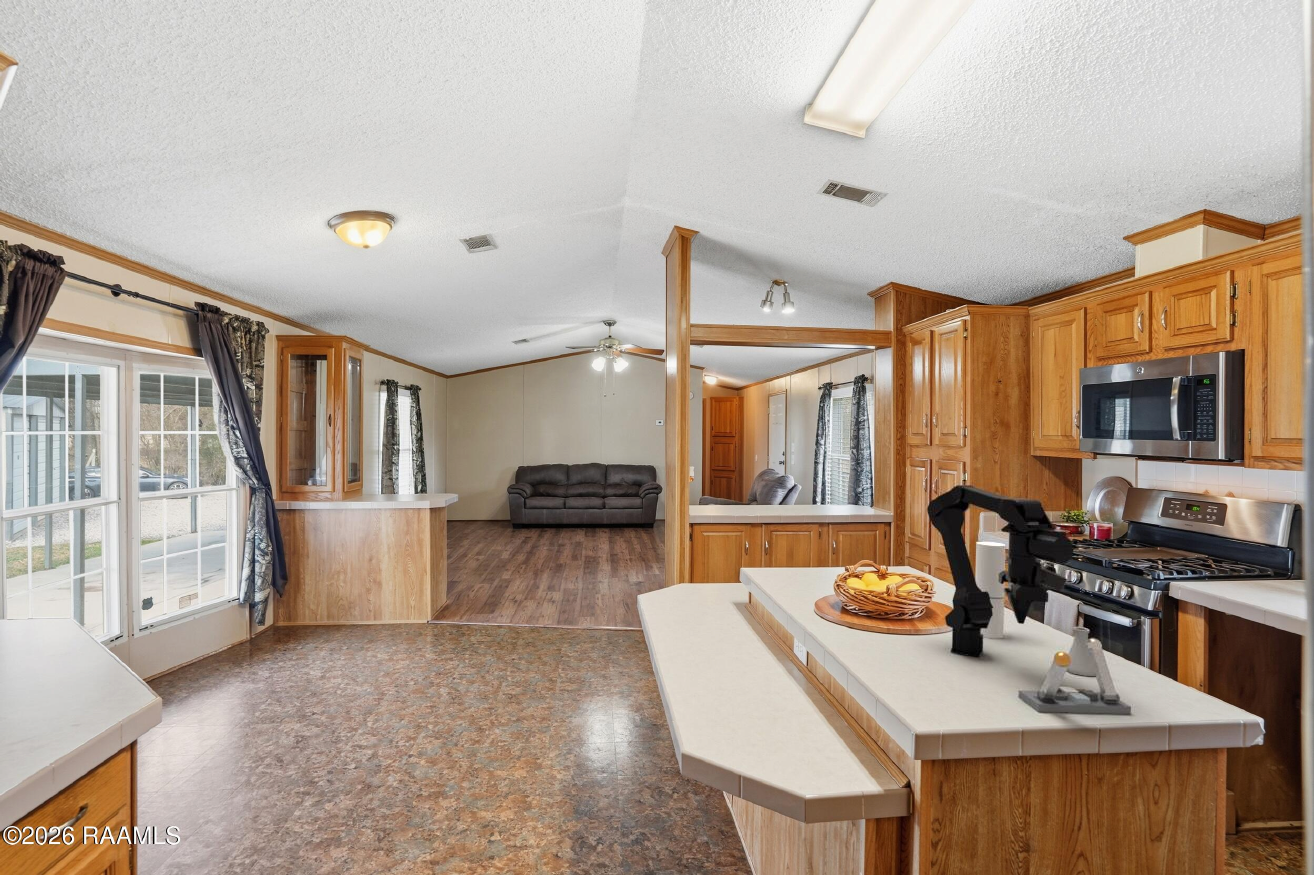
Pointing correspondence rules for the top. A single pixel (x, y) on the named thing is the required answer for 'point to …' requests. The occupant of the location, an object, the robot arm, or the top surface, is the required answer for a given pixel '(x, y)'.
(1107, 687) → the lever
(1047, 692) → the orange knob lever
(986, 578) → the cylindrical container
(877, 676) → the top surface
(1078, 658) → the flask
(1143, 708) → the top surface
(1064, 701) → the panel
